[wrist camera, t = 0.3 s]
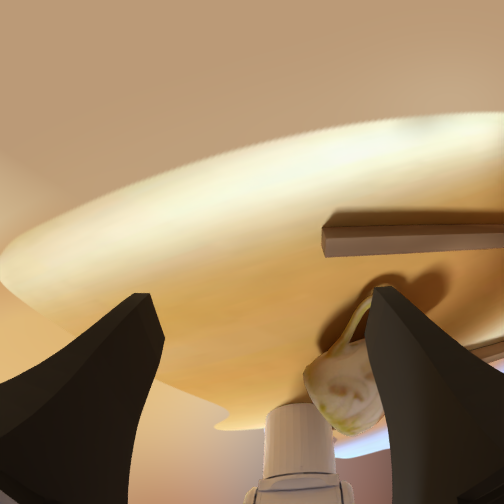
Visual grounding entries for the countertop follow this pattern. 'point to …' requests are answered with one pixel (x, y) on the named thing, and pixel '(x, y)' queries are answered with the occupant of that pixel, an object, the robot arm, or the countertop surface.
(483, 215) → the countertop surface
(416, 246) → the frame
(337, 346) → the mug
